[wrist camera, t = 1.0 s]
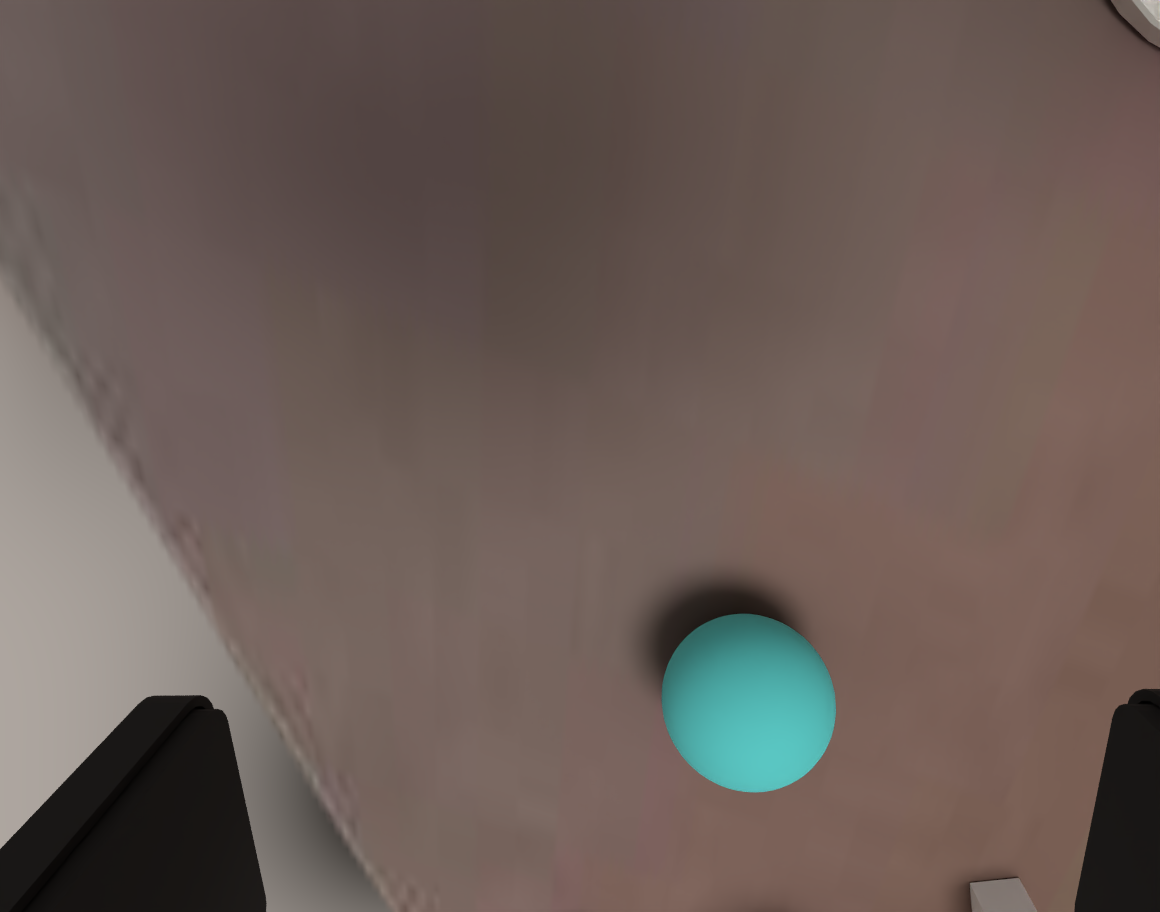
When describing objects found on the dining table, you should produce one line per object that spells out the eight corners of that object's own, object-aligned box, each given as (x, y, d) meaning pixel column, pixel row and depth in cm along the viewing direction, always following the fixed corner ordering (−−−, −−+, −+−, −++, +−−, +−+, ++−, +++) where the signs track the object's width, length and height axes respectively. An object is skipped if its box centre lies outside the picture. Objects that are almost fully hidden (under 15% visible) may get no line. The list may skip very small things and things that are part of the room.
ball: (804, 572, 29) (845, 665, 23) (823, 705, 31) (865, 821, 25) (646, 597, 30) (648, 693, 24) (673, 725, 32) (682, 842, 26)
